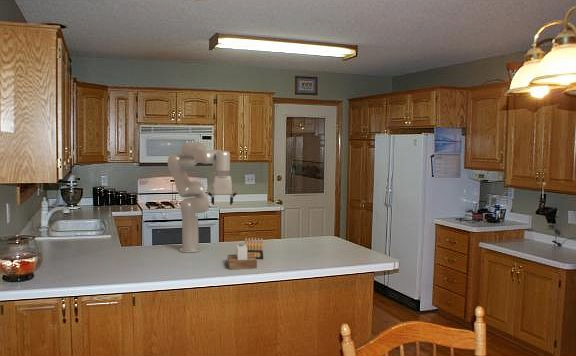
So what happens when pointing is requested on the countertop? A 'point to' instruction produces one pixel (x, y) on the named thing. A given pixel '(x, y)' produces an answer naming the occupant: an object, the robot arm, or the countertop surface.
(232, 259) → the walnut stand
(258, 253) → the ammunition clip
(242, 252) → the block
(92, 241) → the countertop surface
